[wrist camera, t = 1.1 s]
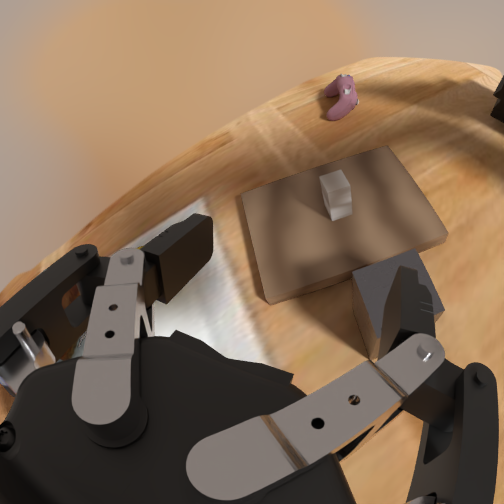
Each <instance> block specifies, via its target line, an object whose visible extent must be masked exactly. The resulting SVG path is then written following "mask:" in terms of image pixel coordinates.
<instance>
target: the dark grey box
mask: <svg viewBox="0 0 504 504" xmlns="http://www.w3.org/2000/svg"><path fill="white" fill-rule="evenodd" d="M400 265H401V266H405V267H408V268H412V269H415V270H417V271H418V281H419V284H422V285H426V286H427V288H428V290H429V291H430V293H431V295H432V302H433V305H432V306H433V311H434V312H433V314H434V322H436V321H437V320H438V319H439V317H440V316H441V315H442V313H443V312H444V311H445V309H444V307H443V304H442V302H441V300H440V298H439V296H438V293H437V291H436V289H435V287H434V285H433V283H432V280H431V278H430V276H429V274H428V272H427V270H426V268H425V266H424V264H423V262H422V260H421V258H420V256H419V254H418V252H417V251H416V249H415V248H414V249H412V250H409V251H406V252H404V253H401V254H399V255H396V256H393V257H391V258H388V259H385V260H383V261H380V262H377V263H375V264H372V265H369V266H366V267H364V268H361V269H358V270H355V271H353V272H352V285H353V312H354V314H355V317H356V320H357V323H358V326H359V329H360V332H361V335H362V338H363V341H364V344H365V347H366V350H367V353H368V356H369V359H370V360H372V359H375V358H378V353H379V346H380V338H381V330H382V321H383V312H384V306H385V302H386V299H387V296H388V294H389V291H390V288H391V286H392V283H393V280H394V278H395V275H396V272H397V270H398V267H399V266H400Z"/></svg>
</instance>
